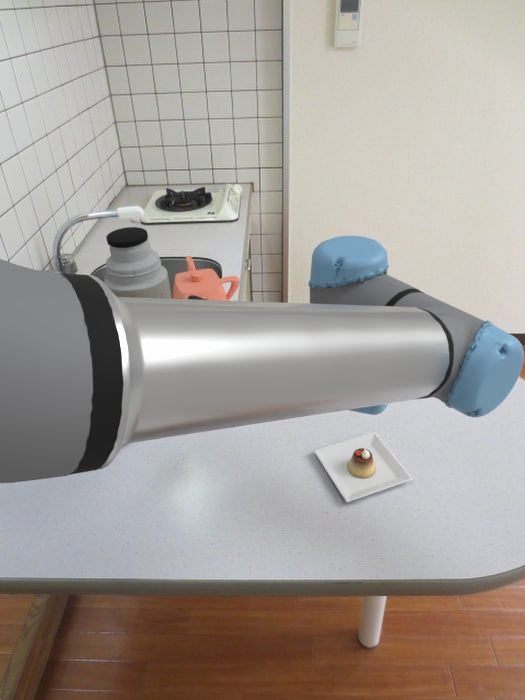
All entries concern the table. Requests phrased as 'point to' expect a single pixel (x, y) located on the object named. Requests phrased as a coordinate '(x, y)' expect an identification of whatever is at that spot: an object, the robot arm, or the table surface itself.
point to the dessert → (362, 466)
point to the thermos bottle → (135, 266)
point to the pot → (202, 284)
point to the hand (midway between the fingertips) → (118, 317)
